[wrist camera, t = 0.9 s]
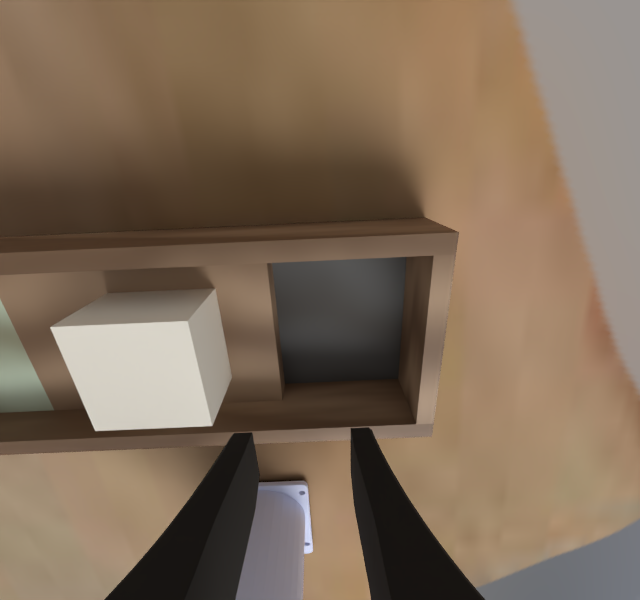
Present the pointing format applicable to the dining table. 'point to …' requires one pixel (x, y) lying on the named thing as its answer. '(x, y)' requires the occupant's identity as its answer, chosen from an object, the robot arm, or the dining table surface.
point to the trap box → (242, 328)
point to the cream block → (147, 358)
